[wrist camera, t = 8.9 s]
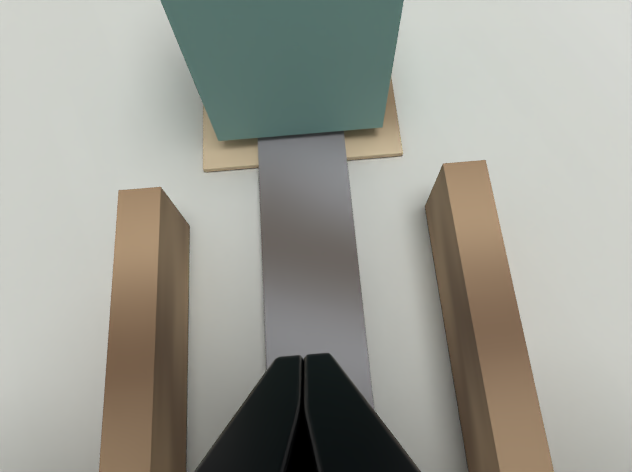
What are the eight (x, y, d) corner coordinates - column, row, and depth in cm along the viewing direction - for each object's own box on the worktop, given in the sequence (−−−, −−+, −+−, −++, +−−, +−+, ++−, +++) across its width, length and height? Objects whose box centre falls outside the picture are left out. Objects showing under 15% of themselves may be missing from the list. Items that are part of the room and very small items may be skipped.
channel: (622, 1046, 10) (731, 1281, 7) (118, 1083, 10) (38, 1332, 8) (420, -2, 20) (435, -70, 17) (162, 20, 20) (135, -45, 17)
